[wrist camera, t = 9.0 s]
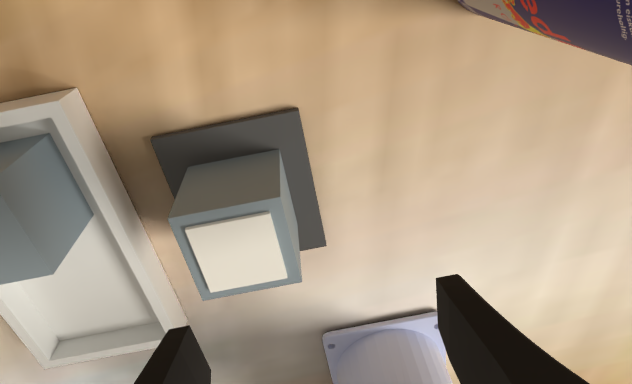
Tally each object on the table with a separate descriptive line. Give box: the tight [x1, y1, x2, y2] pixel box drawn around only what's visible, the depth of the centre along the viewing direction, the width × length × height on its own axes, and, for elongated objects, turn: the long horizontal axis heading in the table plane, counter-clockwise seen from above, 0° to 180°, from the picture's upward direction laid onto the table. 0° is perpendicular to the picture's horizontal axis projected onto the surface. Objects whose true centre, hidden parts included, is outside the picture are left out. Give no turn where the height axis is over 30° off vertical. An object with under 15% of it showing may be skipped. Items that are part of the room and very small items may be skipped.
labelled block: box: [167, 149, 302, 301], centre depth 19 cm, size 4×4×5 cm
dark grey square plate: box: [150, 108, 326, 251], centre depth 22 cm, size 8×7×1 cm
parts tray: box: [0, 88, 188, 369], centre depth 21 cm, size 15×8×2 cm, turn 10°
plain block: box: [0, 133, 94, 285], centre depth 18 cm, size 4×4×4 cm
